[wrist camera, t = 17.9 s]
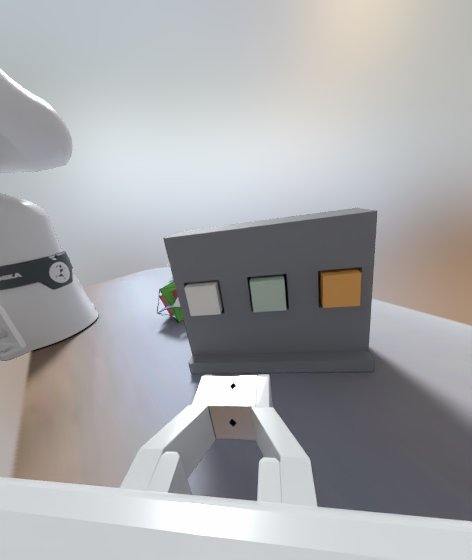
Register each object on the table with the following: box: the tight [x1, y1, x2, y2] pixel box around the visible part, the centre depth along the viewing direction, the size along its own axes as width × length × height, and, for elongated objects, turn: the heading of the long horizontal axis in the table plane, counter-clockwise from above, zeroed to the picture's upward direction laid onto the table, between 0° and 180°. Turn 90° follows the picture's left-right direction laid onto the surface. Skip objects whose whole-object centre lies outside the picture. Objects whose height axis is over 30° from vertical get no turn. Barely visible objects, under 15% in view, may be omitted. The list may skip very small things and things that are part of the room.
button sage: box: [250, 274, 286, 312], centre depth 24 cm, size 3×3×3 cm
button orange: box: [318, 268, 362, 308], centre depth 23 cm, size 3×3×3 cm
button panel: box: [164, 208, 377, 374], centre depth 26 cm, size 20×7×16 cm, turn 82°
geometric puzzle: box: [157, 282, 183, 323], centre depth 40 cm, size 7×7×8 cm
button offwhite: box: [184, 280, 224, 316], centre depth 25 cm, size 3×3×3 cm
